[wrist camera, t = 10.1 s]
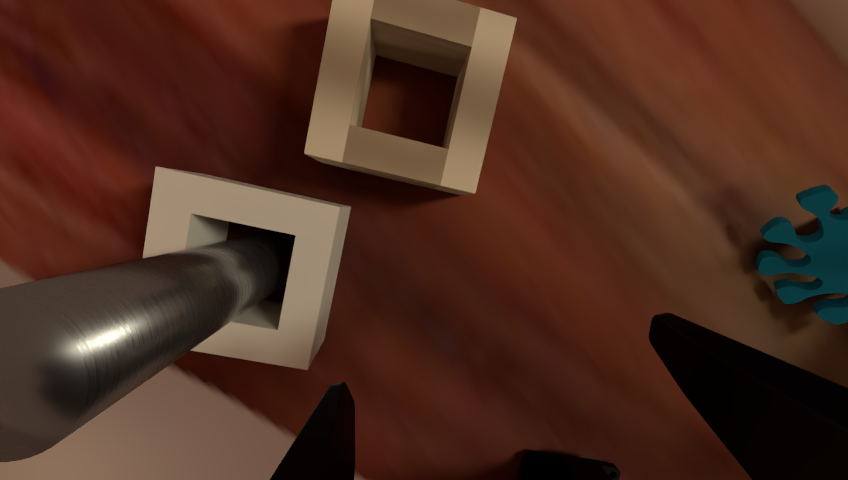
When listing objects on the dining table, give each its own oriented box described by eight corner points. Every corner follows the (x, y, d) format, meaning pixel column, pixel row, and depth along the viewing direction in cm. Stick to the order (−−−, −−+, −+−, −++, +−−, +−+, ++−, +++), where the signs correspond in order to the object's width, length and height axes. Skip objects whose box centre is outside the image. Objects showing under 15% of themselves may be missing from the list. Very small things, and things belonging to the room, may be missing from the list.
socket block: (324, 339, 19) (307, 370, 16) (181, 314, 18) (130, 340, 15) (351, 206, 18) (339, 207, 15) (204, 174, 17) (155, 166, 14)
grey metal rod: (291, 293, 19) (75, 473, 6) (234, 282, 18) (-116, 448, 6) (301, 239, 18) (96, 313, 6) (243, 227, 18) (-103, 278, 6)
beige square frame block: (460, 195, 19) (475, 193, 15) (322, 163, 18) (304, 153, 14) (494, 54, 18) (517, 18, 14) (351, 13, 17) (339, -35, 14)
